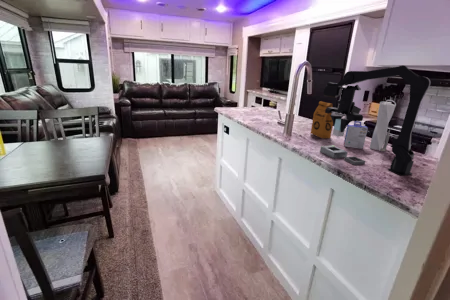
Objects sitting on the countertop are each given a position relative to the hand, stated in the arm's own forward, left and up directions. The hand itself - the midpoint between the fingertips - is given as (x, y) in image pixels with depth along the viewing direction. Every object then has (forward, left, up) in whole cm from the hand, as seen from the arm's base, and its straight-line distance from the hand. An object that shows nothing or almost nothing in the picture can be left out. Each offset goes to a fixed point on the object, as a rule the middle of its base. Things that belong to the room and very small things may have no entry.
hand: (338, 131), depth 116 cm
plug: (0, 0, -2) cm, 2 cm away
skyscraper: (+4, -33, -13) cm, 36 cm away
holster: (-10, -3, -13) cm, 16 cm away
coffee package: (+32, -17, -13) cm, 38 cm away
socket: (+1, 0, -13) cm, 13 cm away
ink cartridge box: (+10, -22, -13) cm, 27 cm away
